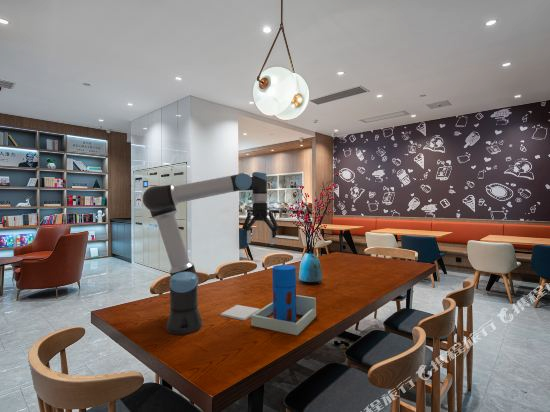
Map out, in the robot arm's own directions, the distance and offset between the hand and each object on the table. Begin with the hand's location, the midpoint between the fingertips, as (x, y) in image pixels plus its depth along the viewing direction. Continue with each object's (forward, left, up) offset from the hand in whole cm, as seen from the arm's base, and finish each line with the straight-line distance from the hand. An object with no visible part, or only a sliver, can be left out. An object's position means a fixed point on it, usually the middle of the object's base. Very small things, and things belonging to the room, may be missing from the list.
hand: (260, 243), depth 153 cm
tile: (-9, +7, -34) cm, 36 cm away
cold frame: (-8, -17, -34) cm, 39 cm away
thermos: (-8, -17, -34) cm, 39 cm away
